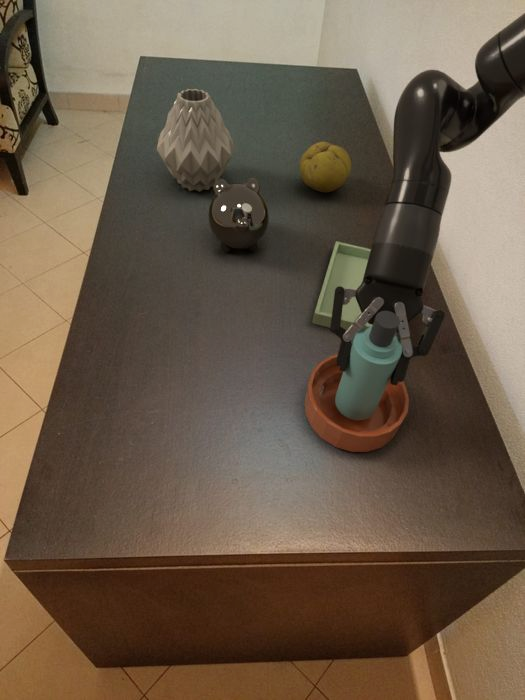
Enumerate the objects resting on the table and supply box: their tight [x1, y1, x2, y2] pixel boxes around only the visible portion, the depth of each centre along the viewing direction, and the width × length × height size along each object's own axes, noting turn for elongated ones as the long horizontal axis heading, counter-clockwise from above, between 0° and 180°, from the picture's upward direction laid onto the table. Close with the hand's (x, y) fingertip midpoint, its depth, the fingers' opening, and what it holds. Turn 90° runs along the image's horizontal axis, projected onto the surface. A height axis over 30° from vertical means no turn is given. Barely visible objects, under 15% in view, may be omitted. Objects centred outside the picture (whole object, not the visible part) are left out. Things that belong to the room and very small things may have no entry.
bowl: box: [303, 353, 410, 453], centre depth 67 cm, size 14×14×5 cm
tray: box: [311, 240, 397, 337], centre depth 84 cm, size 14×20×3 cm
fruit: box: [299, 141, 352, 193], centre depth 103 cm, size 11×12×10 cm
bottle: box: [335, 311, 402, 420], centre depth 61 cm, size 6×6×18 cm
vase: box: [156, 88, 236, 192], centre depth 98 cm, size 16×16×18 cm
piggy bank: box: [208, 177, 270, 253], centre depth 88 cm, size 11×15×12 cm
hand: (367, 376), depth 60 cm, fingers closed on bottle, 6 cm apart
